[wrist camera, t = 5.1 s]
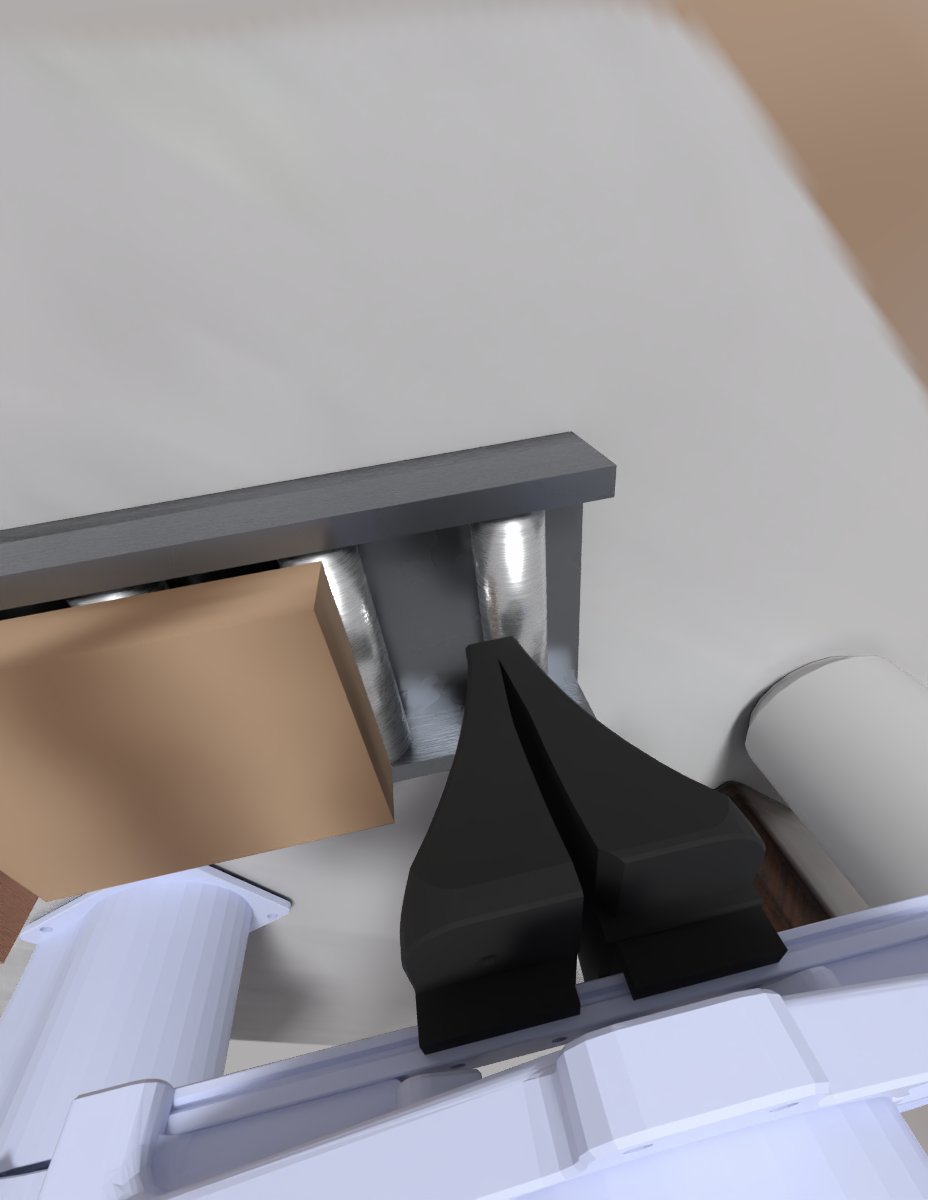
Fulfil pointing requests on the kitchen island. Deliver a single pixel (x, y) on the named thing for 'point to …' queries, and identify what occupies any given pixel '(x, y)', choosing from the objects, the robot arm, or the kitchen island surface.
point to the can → (853, 767)
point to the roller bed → (388, 547)
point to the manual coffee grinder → (792, 865)
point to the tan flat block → (182, 732)
